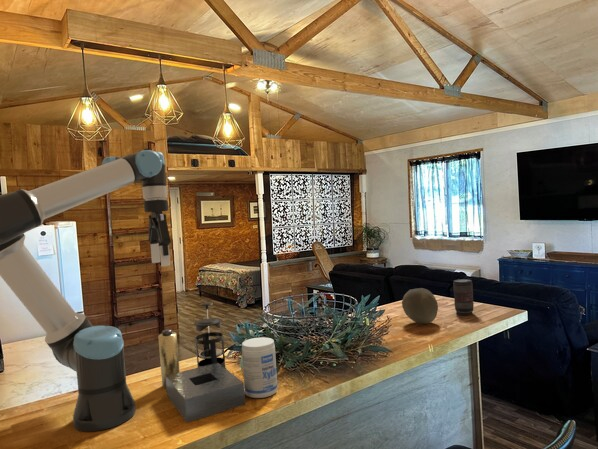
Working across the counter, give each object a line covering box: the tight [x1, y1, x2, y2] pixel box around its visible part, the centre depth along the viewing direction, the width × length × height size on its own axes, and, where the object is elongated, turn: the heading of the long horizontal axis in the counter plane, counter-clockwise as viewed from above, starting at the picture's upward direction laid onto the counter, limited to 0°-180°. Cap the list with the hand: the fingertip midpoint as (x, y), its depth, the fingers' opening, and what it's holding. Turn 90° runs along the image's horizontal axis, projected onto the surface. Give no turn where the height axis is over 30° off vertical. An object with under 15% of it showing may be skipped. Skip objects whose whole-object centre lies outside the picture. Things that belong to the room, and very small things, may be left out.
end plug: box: [157, 328, 181, 390], centre depth 134 cm, size 5×5×17 cm
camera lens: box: [452, 278, 475, 317], centre depth 193 cm, size 8×8×15 cm
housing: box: [166, 363, 246, 423], centre depth 122 cm, size 16×20×6 cm
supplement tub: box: [241, 336, 278, 399], centre depth 124 cm, size 10×10×15 cm
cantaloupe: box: [401, 287, 439, 325], centre depth 182 cm, size 14×14×15 cm
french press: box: [193, 302, 227, 369], centre depth 143 cm, size 12×9×23 cm
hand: (160, 264), depth 142 cm, fingers open, 13 cm apart
